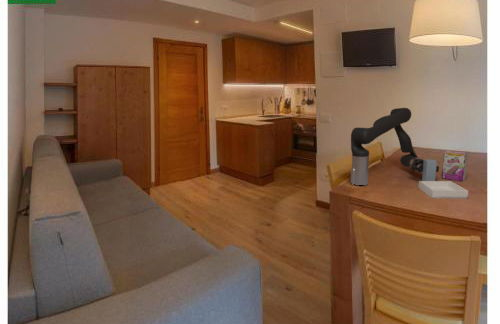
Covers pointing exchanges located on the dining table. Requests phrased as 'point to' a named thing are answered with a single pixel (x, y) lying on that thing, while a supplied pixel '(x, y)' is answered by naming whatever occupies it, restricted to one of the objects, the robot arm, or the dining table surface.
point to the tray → (443, 189)
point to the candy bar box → (454, 165)
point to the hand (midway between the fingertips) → (429, 170)
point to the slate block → (429, 170)
